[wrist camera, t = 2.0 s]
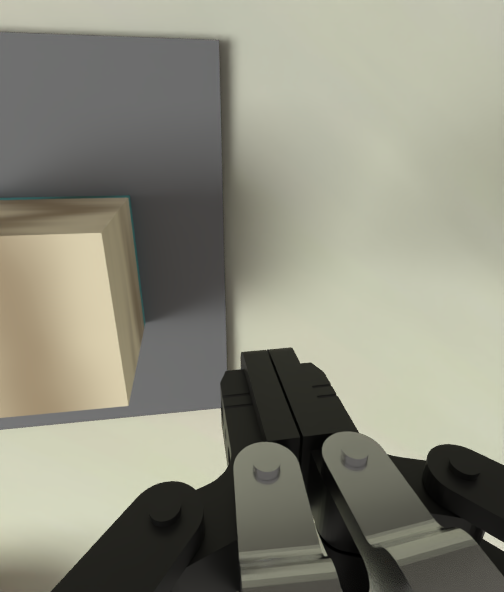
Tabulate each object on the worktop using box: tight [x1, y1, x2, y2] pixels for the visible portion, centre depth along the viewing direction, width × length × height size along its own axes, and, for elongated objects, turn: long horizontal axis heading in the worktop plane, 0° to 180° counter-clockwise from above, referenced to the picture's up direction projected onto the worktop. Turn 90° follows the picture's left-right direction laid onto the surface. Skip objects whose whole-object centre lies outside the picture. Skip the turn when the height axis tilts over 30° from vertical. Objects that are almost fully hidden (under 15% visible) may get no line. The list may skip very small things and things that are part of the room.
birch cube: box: [0, 195, 145, 418], centre depth 17 cm, size 7×7×7 cm
